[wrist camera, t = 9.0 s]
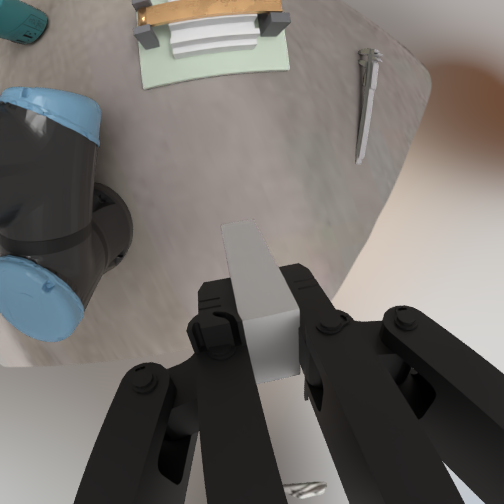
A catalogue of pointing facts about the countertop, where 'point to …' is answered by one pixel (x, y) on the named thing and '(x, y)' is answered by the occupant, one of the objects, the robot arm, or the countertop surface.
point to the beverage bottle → (20, 21)
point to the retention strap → (203, 10)
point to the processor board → (210, 63)
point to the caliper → (367, 98)
